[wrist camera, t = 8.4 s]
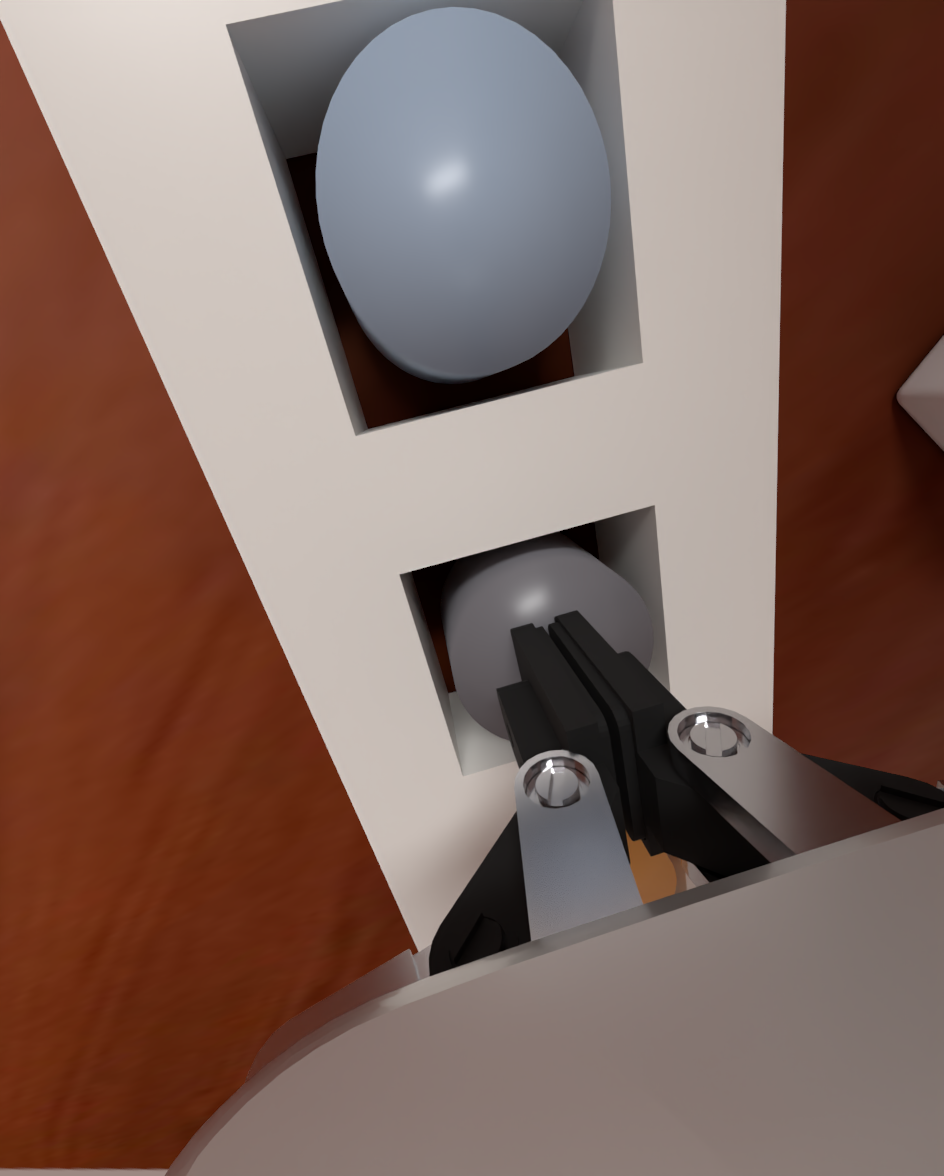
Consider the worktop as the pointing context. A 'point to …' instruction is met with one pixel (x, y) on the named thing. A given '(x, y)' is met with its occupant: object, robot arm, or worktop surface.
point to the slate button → (462, 194)
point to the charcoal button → (529, 613)
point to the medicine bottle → (927, 394)
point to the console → (464, 433)
